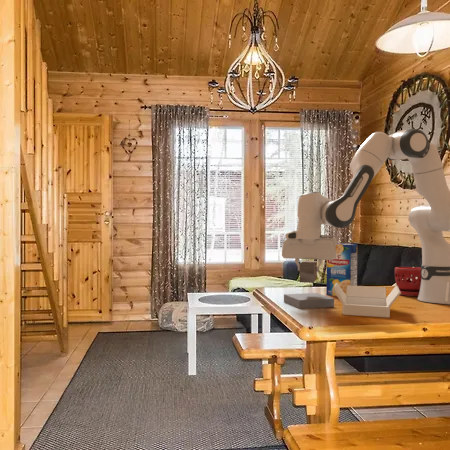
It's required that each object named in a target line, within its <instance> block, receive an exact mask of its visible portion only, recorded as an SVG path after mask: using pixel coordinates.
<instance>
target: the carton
mask: <svg viewBox="0 0 450 450" xmlns="http://www.w3.org/2000/svg"><path fill="white" fill-rule="evenodd" d="M333 291H334V292H335V294H336V295H337V296H336V297H337V298H338V300H339V301H340V303H341V304H342V315H344V316H345V315H346V316H358V317H361V316H362V317H373V318H374V317H375V318H390V317H391V315H390V314H391V313H390V312H391V306H392V305H393V304H394V303H395V302H396V300H397V299H398V297H399V296H400V294H401V292H400V290H399V288H398V286H397V284H396V285H395V286H394V287H393V289H392V290H391V291H390V293H389V294H388V295H387V287H386V286H385V287H384V286H370V285H369V286H367V285H366V286H365V285H357V286H349V285H347V296H346V295H345V293H344V292H343V290H342V289H341V287H340V286H339V284H338V283H336V284H335V286H334V288H333Z"/></svg>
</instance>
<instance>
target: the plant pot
mask: <svg viewBox="0 0 450 450" xmlns="http://www.w3.org/2000/svg"><path fill="white" fill-rule="evenodd" d="M421 278H422V277H421V267H417V266H416V267H413V266H396V267H394V281H395V284H396V285H397V286H398V288H399V290H400V292H401V294H400V295H401V296H407V297H417V298H418V295H419V291H420V286H421ZM400 295H399V296H400Z"/></svg>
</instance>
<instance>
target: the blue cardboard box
mask: <svg viewBox="0 0 450 450" xmlns="http://www.w3.org/2000/svg"><path fill="white" fill-rule="evenodd" d="M335 248H336V258H335V259H334V260H326V291H325V292H326V295H325V296H334V297H337V295H336V294H335V292H334V291H333V288H334V286H335V284H336V283H338V284H339V286H340V287H341V289H342V290H343V292H344V293H345V295H346V296H347V285H349V286H358V243H342V242H341V243H338V242H337V246H336V247H335Z"/></svg>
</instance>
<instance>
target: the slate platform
mask: <svg viewBox="0 0 450 450" xmlns="http://www.w3.org/2000/svg"><path fill="white" fill-rule="evenodd" d="M283 303H285V304H287V303H288V304H287V305H290V306H292V305H293V306H292V307H294V306H295V308H297V309H299V308H300V309H316V308H317V307H321V308H334V307H335V298H333V297H330V296H328V295H324V294H320V293H318V292H309V293H307V292H306V293H287V294H286V293H284V294H283Z"/></svg>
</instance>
